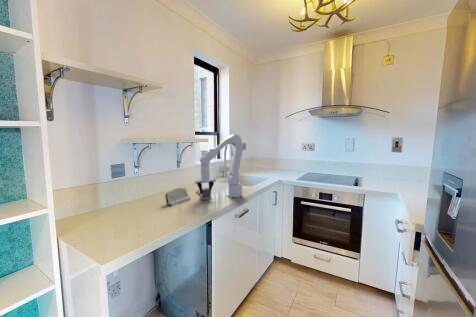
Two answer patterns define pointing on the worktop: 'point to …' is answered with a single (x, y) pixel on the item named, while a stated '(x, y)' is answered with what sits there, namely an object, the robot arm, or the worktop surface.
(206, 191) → the brushed grey cube
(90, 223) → the worktop surface
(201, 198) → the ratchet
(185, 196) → the white electronic device
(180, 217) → the worktop surface
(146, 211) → the worktop surface
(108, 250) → the worktop surface
